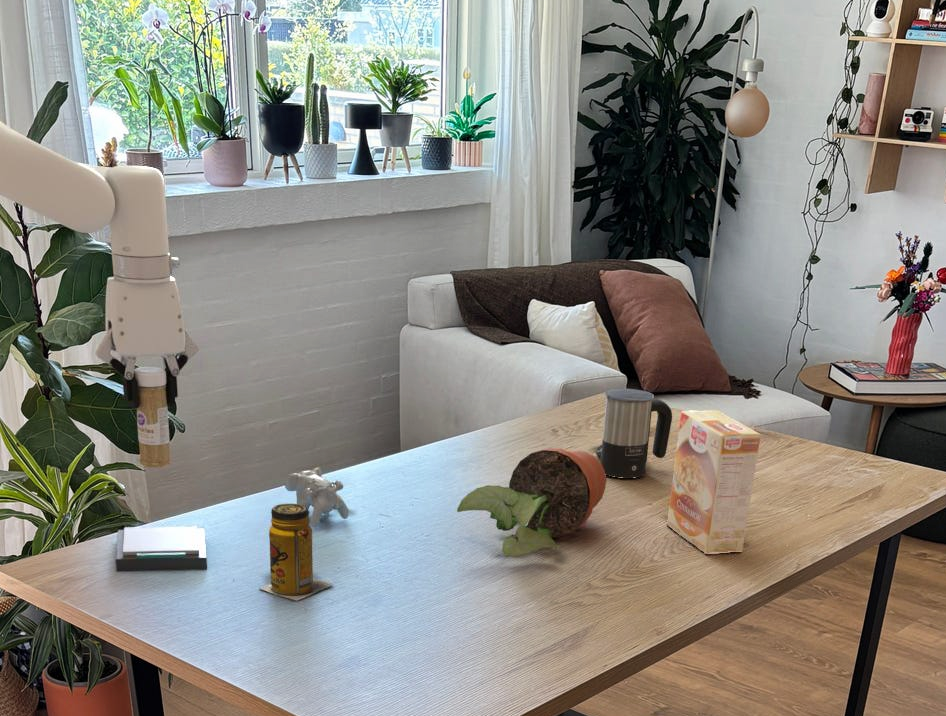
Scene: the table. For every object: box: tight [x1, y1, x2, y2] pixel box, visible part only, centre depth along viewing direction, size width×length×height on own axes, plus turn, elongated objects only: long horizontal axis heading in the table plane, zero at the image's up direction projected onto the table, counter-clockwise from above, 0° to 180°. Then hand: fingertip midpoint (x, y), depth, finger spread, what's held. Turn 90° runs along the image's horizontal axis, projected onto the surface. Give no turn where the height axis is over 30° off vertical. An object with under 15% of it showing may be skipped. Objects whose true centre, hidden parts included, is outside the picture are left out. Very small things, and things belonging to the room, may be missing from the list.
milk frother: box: [595, 388, 673, 478], centre depth 248 cm, size 14×16×15 cm
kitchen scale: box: [115, 525, 208, 572], centre depth 196 cm, size 13×13×2 cm
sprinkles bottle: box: [134, 366, 172, 469], centre depth 186 cm, size 5×5×13 cm
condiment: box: [258, 503, 335, 602], centre depth 185 cm, size 7×8×12 cm
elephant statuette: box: [284, 466, 350, 528], centre depth 213 cm, size 9×12×8 cm
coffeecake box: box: [666, 409, 762, 553], centre depth 212 cm, size 15×7×20 cm, turn 18°
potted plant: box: [456, 447, 607, 558], centre depth 206 cm, size 16×15×35 cm
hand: (151, 403), depth 185 cm, fingers closed on sprinkles bottle, 4 cm apart
